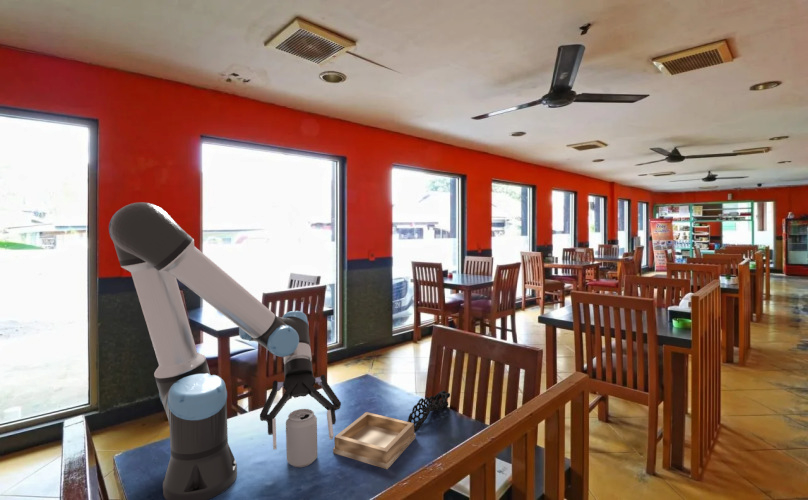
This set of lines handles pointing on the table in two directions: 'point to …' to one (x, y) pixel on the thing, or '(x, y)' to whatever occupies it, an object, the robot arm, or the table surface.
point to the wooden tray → (375, 439)
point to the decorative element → (427, 409)
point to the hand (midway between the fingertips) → (303, 442)
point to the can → (301, 438)
